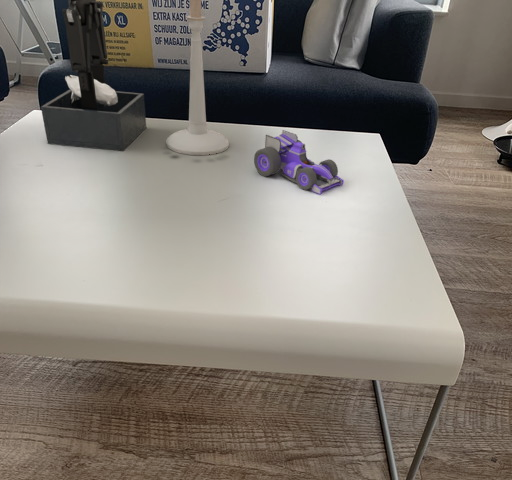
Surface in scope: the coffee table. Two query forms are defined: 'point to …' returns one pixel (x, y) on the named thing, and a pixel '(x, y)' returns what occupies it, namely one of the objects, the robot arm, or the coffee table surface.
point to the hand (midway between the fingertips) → (95, 103)
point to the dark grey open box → (94, 122)
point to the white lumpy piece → (101, 90)
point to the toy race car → (295, 163)
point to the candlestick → (197, 101)
